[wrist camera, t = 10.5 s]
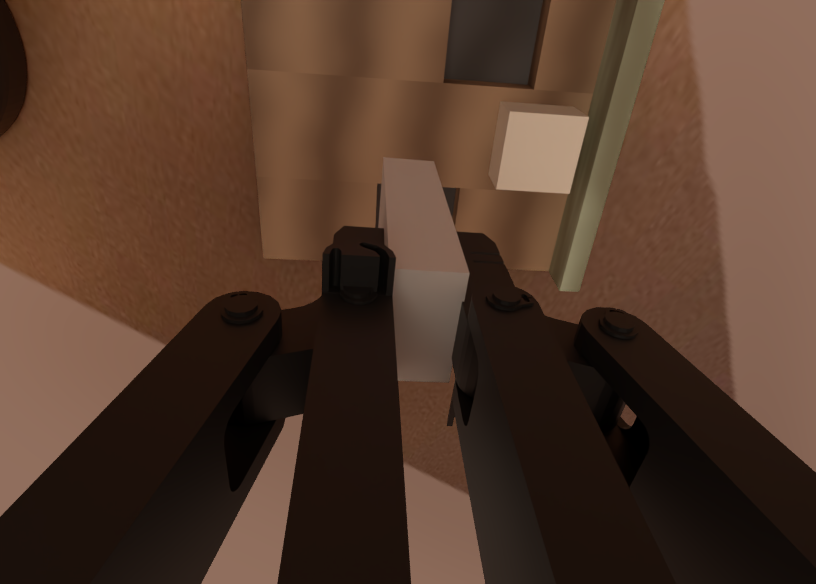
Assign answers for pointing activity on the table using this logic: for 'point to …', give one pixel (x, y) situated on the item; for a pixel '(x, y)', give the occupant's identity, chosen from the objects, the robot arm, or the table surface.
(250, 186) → the table surface
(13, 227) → the table surface
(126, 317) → the table surface
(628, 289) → the table surface
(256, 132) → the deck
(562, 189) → the block
